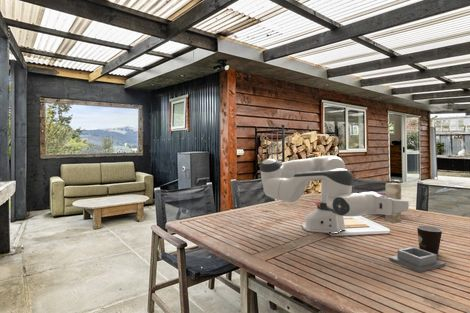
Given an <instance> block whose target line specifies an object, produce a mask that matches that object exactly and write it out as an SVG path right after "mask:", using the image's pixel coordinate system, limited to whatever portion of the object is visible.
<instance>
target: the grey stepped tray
mask: <svg viewBox="0 0 470 313" xmlns="http://www.w3.org/2000/svg"><path fill="white" fill-rule="evenodd" d="M437 258H438V255H436V254H433V253H430V252H427V251H425V250H422V249H419V247H415V246H410V247H405V248H401V249H397V254H396V255H393V256H389V259H388V260H389V261H391V262H395V263H396V264H399V265H401V266H404V267H406V268H408V269H410V270H412V271H415V272H417V273H423V272H426V271H431V270H434V269H438V268H439V269H440V268H442V267H445V266H446V263H445V262H443V261H441V260H438V259H437Z"/></svg>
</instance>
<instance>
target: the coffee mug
mask: <svg viewBox="0 0 470 313" xmlns="http://www.w3.org/2000/svg"><path fill="white" fill-rule="evenodd" d="M416 229H417V240H418V248H419V249H422V250H425V251H427V252H430V253H433V254H436V255H437V256H438V255H439V250H440V244H441V239H442V234H443V229H441V228H440V227H436V226H432V225H425V224H424V225H417V226H416Z"/></svg>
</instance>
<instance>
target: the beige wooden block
mask: <svg viewBox="0 0 470 313" xmlns="http://www.w3.org/2000/svg"><path fill="white" fill-rule="evenodd" d="M385 193H386V197H390V198H395V199H402V183H397V182H385ZM401 214H402V212H399V213H392V214H391V215H384V221H385V222H388V223H391V224H397V223H401V220H402V219H401V218H402V217H401V216H402V215H401Z"/></svg>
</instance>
